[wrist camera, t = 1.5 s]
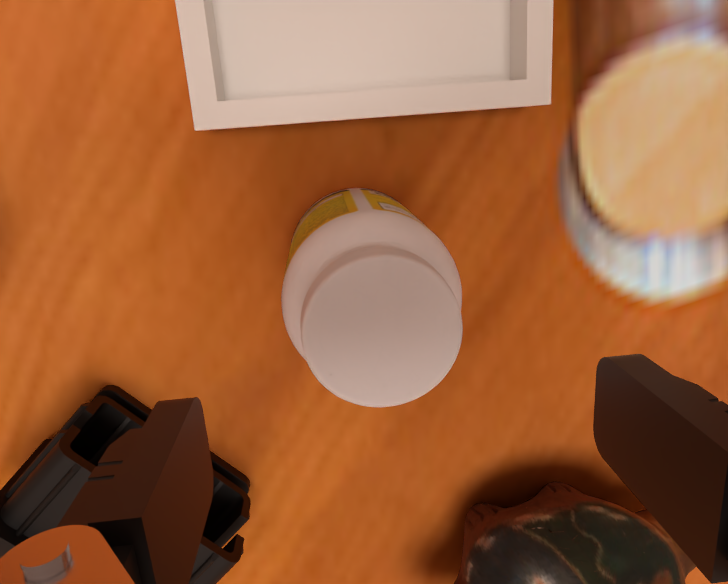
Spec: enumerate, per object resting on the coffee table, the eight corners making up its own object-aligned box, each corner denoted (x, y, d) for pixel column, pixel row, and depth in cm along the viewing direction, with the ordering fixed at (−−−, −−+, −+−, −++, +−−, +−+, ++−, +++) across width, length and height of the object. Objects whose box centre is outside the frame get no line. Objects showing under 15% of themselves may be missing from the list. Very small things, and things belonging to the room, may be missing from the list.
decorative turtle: (378, 517, 31) (406, 635, 23) (628, 408, 31) (739, 488, 23) (438, 649, 33) (482, 796, 25) (670, 546, 33) (784, 659, 26)
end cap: (18, 471, 28) (-71, 572, 22) (101, 373, 27) (33, 450, 21) (179, 571, 31) (141, 689, 24) (261, 485, 30) (245, 585, 23)
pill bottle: (297, 319, 27) (282, 442, 17) (284, 191, 25) (259, 236, 15) (423, 309, 27) (488, 422, 17) (420, 181, 26) (489, 219, 15)
